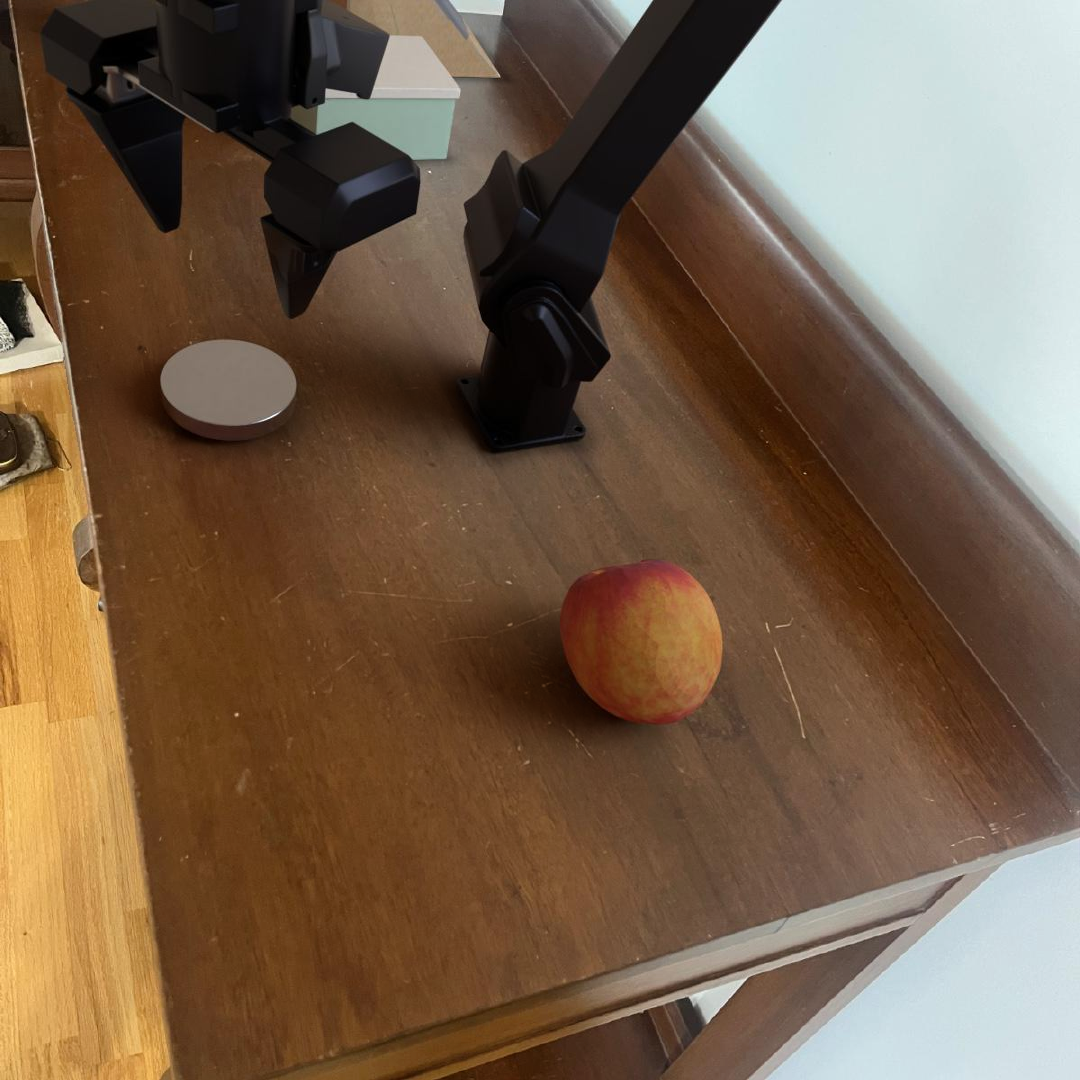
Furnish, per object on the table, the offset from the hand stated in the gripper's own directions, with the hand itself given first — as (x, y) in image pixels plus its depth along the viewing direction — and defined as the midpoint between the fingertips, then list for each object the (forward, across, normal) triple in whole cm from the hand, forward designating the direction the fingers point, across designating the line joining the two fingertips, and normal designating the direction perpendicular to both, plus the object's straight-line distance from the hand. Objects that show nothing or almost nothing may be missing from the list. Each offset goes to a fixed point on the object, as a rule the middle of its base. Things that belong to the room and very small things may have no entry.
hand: (230, 271), depth 52 cm
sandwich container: (+9, +25, -45) cm, 52 cm away
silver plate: (+9, 0, 0) cm, 9 cm away
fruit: (+9, -28, 0) cm, 29 cm away
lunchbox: (+9, +17, -30) cm, 36 cm away
